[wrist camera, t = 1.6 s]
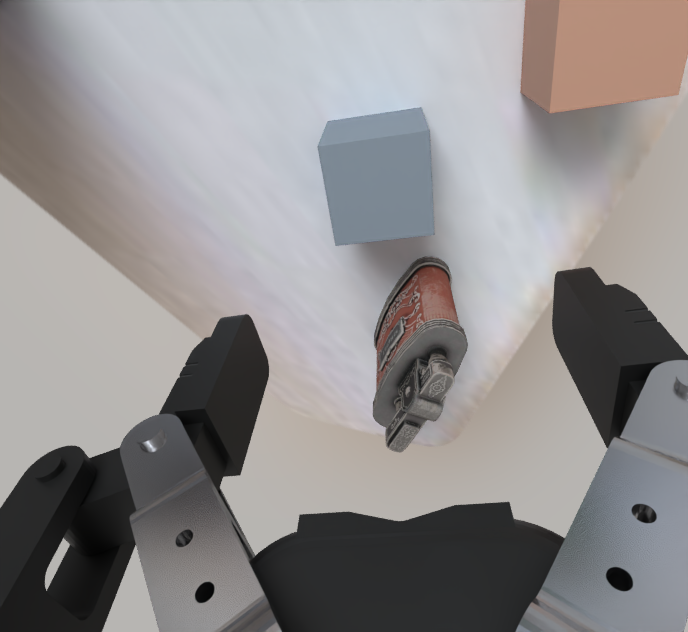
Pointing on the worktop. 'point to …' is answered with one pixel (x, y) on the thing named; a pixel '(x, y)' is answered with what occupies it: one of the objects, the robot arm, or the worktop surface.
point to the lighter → (416, 351)
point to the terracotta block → (602, 51)
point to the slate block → (378, 176)
